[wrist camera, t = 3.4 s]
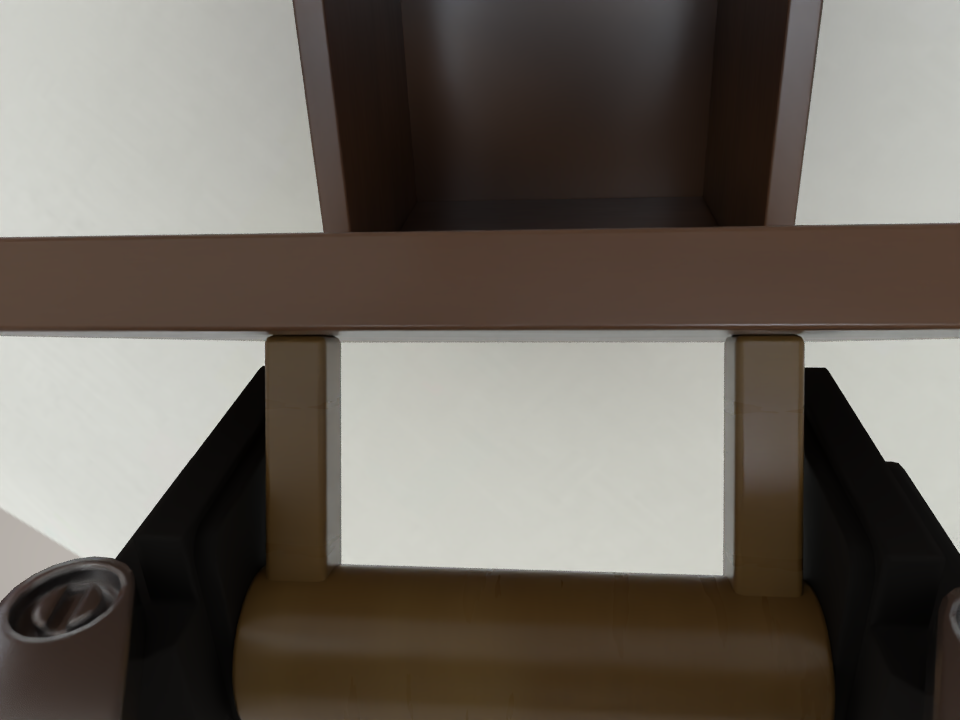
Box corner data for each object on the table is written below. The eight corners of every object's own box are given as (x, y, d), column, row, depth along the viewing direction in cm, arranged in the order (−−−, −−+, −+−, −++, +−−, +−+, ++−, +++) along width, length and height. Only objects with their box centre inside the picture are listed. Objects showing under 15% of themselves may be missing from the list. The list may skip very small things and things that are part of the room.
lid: (-214, 240, 7) (-207, 833, 7) (1406, 214, 6) (1392, 946, 6) (331, 314, 23) (331, 495, 24) (787, 312, 22) (786, 505, 22)
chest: (360, -254, 27) (241, -371, 17) (761, -286, 25) (879, -433, 16) (402, 215, 33) (335, 322, 24) (719, 210, 32) (783, 320, 22)
